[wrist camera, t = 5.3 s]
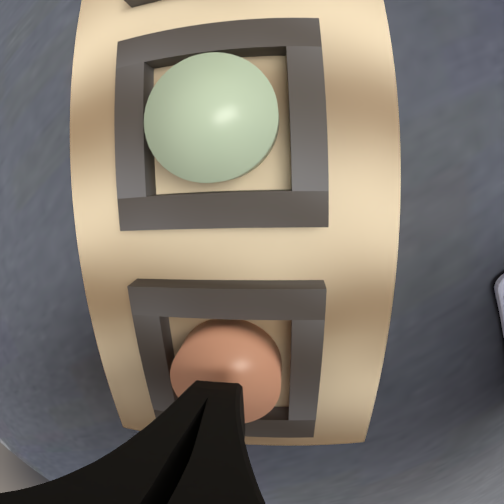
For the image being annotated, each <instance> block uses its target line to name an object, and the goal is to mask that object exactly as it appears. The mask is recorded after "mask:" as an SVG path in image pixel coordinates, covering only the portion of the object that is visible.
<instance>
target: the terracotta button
mask: <svg viewBox="0 0 504 504" xmlns="http://www.w3.org/2000/svg"><path fill="white" fill-rule="evenodd" d="M281 372H282V359H281V354H280V351H279V348H278V346H277V345H276V343H275V341H274V340H273V339H272V337H271V336H270V335H269V334H268V333H267V332H265V331H264V330H263V329H262V328H260V327H258V326H257V325H255V324H253V323H250V322H248V321H245V320H230V319H211V320H208V321H205V322H203V323H201V324H199V325H198V326H196V327H195V328H194V329H193V330H192V331H191V332H190V333H189V334H188V336H187V337H186V339H185V341H184V342H183V344H182V346H181V348H180V349H179V351H178V353H177V354H176V356H175V358H174V360H173V362H172V365H171V369H170V379H171V384H172V387H173V389H174V392H175V393H176V395H177V397H179V396H180V395H181V394H182V393H183V392H184V391H185V390H186V389H187V388H188V387H190V386H191V385H192V384H193V383H194V382H195V381H196V380H200V381H212V382H227V383H239V384H240V385H241V386H242V387H243V400H244V416H245V423H248V422H252V421H255V420H257V419H260V418H261V417H263V416H265V415H266V414H267V413H269V412H270V411H271V410H272V409H273V407H274V406H275V405H276V403H277V401H278V399H279V396H280V391H281Z"/></svg>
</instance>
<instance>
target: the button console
mask: <svg viewBox="0 0 504 504" xmlns="http://www.w3.org/2000/svg"><path fill="white" fill-rule="evenodd" d="M211 52H219V53H227V54H232V55H235V56H238V57H241V58H243V59H245V60H247V61H249V62H250V63H252V64H253V65H255V66H256V67H257V68H258V69H259V70H260V71H262V73H263V74H264V75H265V76H266V77H267V79H268V80H269V82H270V84H271V85H272V88H273V90H274V92H275V95H276V99H277V104H278V113H279V130H278V135H277V138H276V142H275V144H274V146H273V148H272V150H271V152H270V153H269V155H268V156H267V157H266V159H265V160H264V161H263V162H262V163H261V164H260V165H259V166H258V167H257V168H255V169H254V170H252V171H251V172H249V173H247V174H245V175H244V176H241V177H239V178H236V179H232V180H227V181H222V182H215V183H198V182H192V181H188V180H185V179H182V178H180V177H178V176H176V175H174V174H172V173H171V172H169V171H168V170H167V169H165V168H164V167H163V166H162V165H161V164H160V163H159V162H158V161H157V159H156V158H155V156H154V155H153V154H152V152H151V150H150V148H149V146H148V143H147V140H146V136H145V131H144V113H145V107H146V104H147V100H148V98H149V95H150V93H151V91H152V89H153V88H154V86H155V84H156V83H157V82H158V80H159V79H160V78H161V77H162V76H163V75H164V74H165V73H166V72H167V71H168V70H169V69H170V68H171V67H173V66H174V65H175V64H177V63H179V62H180V61H182V60H184V59H186V58H189V57H191V56H195V55H198V54H203V53H211ZM70 161H71V182H72V196H73V208H74V218H75V227H76V236H77V243H78V250H79V257H80V264H81V270H82V276H83V281H84V287H85V292H86V297H87V302H88V307H89V312H90V316H91V321H92V325H93V329H94V333H95V337H96V341H97V345H98V349H99V353H100V356H101V360H102V364H103V367H104V371H105V374H106V377H107V381H108V384H109V387H110V390H111V393H112V396H113V399H114V402H115V405H116V408H117V411H118V414H119V417H120V420H121V422H122V425H123V427H124V428H129V429H134V430H138V431H141V430H142V429H144V428H145V427H146V426H147V425H149V424H150V423H151V422H152V421H153V420H154V419H156V418H157V417H158V416H159V415H160V414H161V413H162V412H163V411H165V410H166V409H167V408H168V407H169V406H170V405H171V404H172V403H173V402H174V401H175V400H176V399H177V398H178V397H177V395H176V393H175V392H174V389H173V387H172V384H171V379H170V369H171V365H172V362H173V360H174V358H175V356H176V354H177V353H178V351H179V349H180V348H181V346H182V344H183V342H184V341H185V339H186V337H187V336H188V334H189V333H190V332H191V331H192V330H193V329H194V328H195V327H196V326H198V325H199V324H201V323H203V322H205V321H208V320H211V319H230V320H245V321H248V322H250V323H253V324H255V325H257V326H258V327H260V328H262V329H263V330H264V331H265V332H267V333H268V334H269V335H270V336H271V337H272V339H273V340H274V341H275V343H276V345H277V346H278V348H279V351H280V354H281V359H282V372H281V391H280V396H279V399H278V401H277V403H276V405H275V406H274V407H273V409H272V410H271V411H270V412H269V413H267V414H266V415H265V416H263V417H261V418H260V419H257V420H255V421H252V422H248V423H245V440H244V441H245V444H251V445H329V444H346V443H358V442H364V441H365V437H366V434H367V430H368V426H369V423H370V419H371V415H372V411H373V407H374V402H375V398H376V394H377V389H378V385H379V380H380V375H381V370H382V365H383V360H384V355H385V349H386V343H387V337H388V331H389V324H390V318H391V310H392V303H393V295H394V286H395V277H396V266H397V255H398V241H399V223H400V192H401V160H400V129H399V112H398V99H397V88H396V78H395V69H394V61H393V53H392V46H391V40H390V33H389V27H388V22H387V16H386V11H385V6H384V1H383V0H82V2H81V8H80V14H79V20H78V26H77V33H76V41H75V50H74V59H73V70H72V84H71V104H70Z"/></svg>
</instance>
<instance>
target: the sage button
mask: <svg viewBox="0 0 504 504" xmlns="http://www.w3.org/2000/svg"><path fill="white" fill-rule="evenodd" d="M278 130H279V113H278V104H277V99H276V95H275V92H274V90H273V88H272V85H271V84H270V82H269V80H268V79H267V77H266V76H265V75H264V74H263V73H262V71H260V70H259V69H258V68H257V67H256V66H255V65H253V64H252V63H250V62H249V61H247V60H245V59H243V58H241V57H238V56H235V55H232V54H227V53H219V52H211V53H203V54H198V55H195V56H191V57H189V58H186V59H184V60H182V61H180V62H179V63H177V64H175V65H174V66H173V67H171V68H170V69H169V70H168V71H167V72H166V73H165V74H164V75H163V76H162V77H161V78H160V79H159V80H158V82H157V83H156V84H155V86H154V88H153V89H152V91H151V93H150V95H149V98H148V100H147V104H146V107H145V113H144V131H145V136H146V140H147V143H148V146H149V148H150V150H151V152H152V154H153V155H154V156H155V158H156V159H157V161H158V162H159V163H160V164H161V165H162V166H163V167H164V168H165V169H167V170H168V171H169V172H171V173H172V174H174V175H176V176H178V177H180V178H182V179H185V180H188V181H192V182H198V183H215V182H222V181H227V180H232V179H236V178H239V177H241V176H244V175H245V174H247V173H249V172H251V171H252V170H254V169H255V168H257V167H258V166H259V165H260V164H261V163H262V162H263V161H264V160H265V159H266V157H267V156H268V155H269V153H270V152H271V150H272V148H273V146H274V144H275V142H276V138H277V135H278Z"/></svg>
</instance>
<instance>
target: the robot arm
mask: <svg viewBox="0 0 504 504" xmlns="http://www.w3.org/2000/svg"><path fill="white" fill-rule="evenodd" d="M494 290H495V295H496V299H497V304H498V309H499V314H500V319H501V324H502V330H503V336H504V274H502V275H501V276H500V277H499V278H498V279H497V281H496V283H495V286H494ZM244 440H245V416H244V400H243V387H242V386H241V385H240V384H239V383H227V382H212V381H200V380H196V381H195V382H194V383H193V384H192V385H191V386H190V387H188V388H187V389H186V390H185V391H184V392H183V393H182V394H181V395H180V396H179V397H178V398H177V399H176V400H175V401H174V402H173V403H172V404H171V405H170V406H169V407H168V408H167V409H166V410H165V411H163V412H162V413H161V414H160V415H159V416H158V417H157V418H156V419H154V420H153V421H152V422H151V423H150V424H149V425H147V426H146V427H145V428H144V429H142V430H141V431H140V432H139V433H137V434H136V435H135V436H133V437H132V438H131V439H129V440H128V441H127V442H125V443H124V444H122V445H121V446H120V447H118V448H117V449H115V450H114V451H112V452H110V453H109V454H107V455H105V456H104V457H102V458H100V459H99V460H97V461H95V462H93V463H91V464H89V465H87V466H85V467H83V468H81V469H79V470H76V471H74V472H72V473H70V474H68V475H65V476H63V477H60V478H58V479H55V480H52V481H49V482H46V483H44V484H40V485H36V486H33V487H29V488H25V489H21V490H17V491H11V492H5V493H0V504H265V502H264V499H263V497H262V495H261V492H260V490H259V487H258V484H257V482H256V479H255V476H254V473H253V470H252V467H251V464H250V460H249V457H248V453H247V449H246V445H245V441H244Z"/></svg>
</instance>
